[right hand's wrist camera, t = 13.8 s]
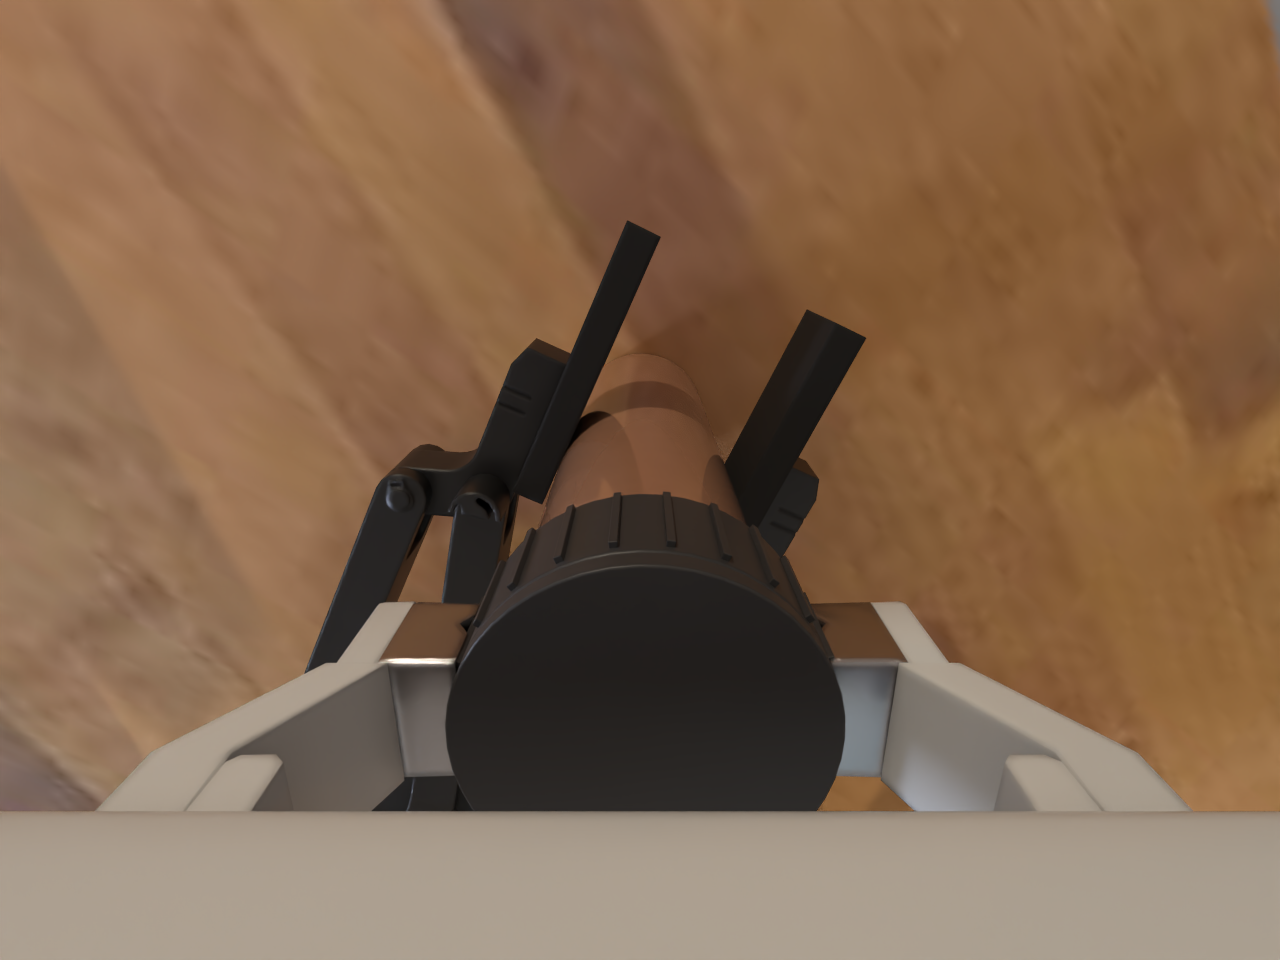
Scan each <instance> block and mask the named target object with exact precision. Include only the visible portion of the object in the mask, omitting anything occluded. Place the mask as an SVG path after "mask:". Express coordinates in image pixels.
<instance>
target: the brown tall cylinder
mask: <svg viewBox="0 0 1280 960" xmlns="http://www.w3.org/2000/svg"><path fill="white" fill-rule="evenodd" d="M663 491H665V492H671V496H674V497H681V498H686V499H689V500H693V501H696V502H700V503H704V504H707V505H710V503H711V502H712V503H715V504H717V505H718V508H719V510H721V511H723V512H725V513H727V514H729V515H731V516H733V517H734V518H736V519H738V520H739V521H741V522H743V523H744V524H746V521H745V518H744V516H743V513H742V510H741V507H740V505H739V502H738V499H737V497H736V494H735V491H734V489H733V486H732V483H731V481H730V478H729V475H728V473H727V470H726V467H725V464H724V462H723V459H722V456H721V454H720V451H719V448H718V446H717V443H716V440H715V438H714V435H713V432H712V429H711V427H710V424H709V421H708V419H707V416H706V413H705V411H704V408H703V405H702V403H701V400H700V397H699V395H698V392H697V389H696V387H695V385H694V383H693V382H692V380H691V379H690V377H689V376H688V375H687V374H686V373H685V372H684V371H683V370H682V369H681V368H680V367H679V366H677V365H676V364H674V363H673V362H671V361H669V360H667V359H665V358H663V357H660V356H656V355H651V354H631V355H626V356H622V357H620V358H617V359H615V360H613V361H611V362H609V363H608V364H606V365H605V366H603V368H602V371H601V373H600V375H599V377H598V380H597V382H596V384H595V386H594V389H593V391H592V393H591V395H590V398H589V400H588V402H587V404H586V407H585V409H584V411H583V413H582V416H581V418H580V420H579V422H578V425H577V427H576V429H575V431H574V434H573V436H572V438H571V441H570V443H569V445H568V447H567V450H566V452H565V454H564V456H563V459H562V461H561V463H560V465H559V468H558V470H557V473H556V476H555V479H554V482H553V485H552V488H551V491H550V494H549V497H548V500H547V503H546V505H545V508H544V511H543V514H542V517H541V520H540V523H539V526H538V528H540V527H541V526H543V525H544V524H546V523H547V522H549V521H550V520H551V519H553V518H555V517H557V516H559V515H561V514H563V513H565V512H566V508H567V507H568V506H570V505H572V504H574V506H575V507H578V506H581V505H584V504H587V503H589V502H592V501H596V500H600V499H605V498H609V497H613V493H616V492H621V495H633V494H658V495H663ZM746 525H747V524H746Z"/></svg>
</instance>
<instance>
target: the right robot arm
mask: <svg viewBox="0 0 1280 960" xmlns="http://www.w3.org/2000/svg"><path fill="white" fill-rule="evenodd" d="M479 604H480V603H432V602H418V603H416V602H384V603H380V604H379V605H378V606H377V607H376V608H375V610H374V611H373V613H372V614H371V615H370V617H369V618H368V620H367V621H366V622H365V624H364V625H363V627H362V628H361V629H360V631H359V632H358V634H357V635H356V636H355V638H354V639H353V641H352V642H351V643H350V645H349V646H348V648H347V649H346V650H345V652H344V653H343V655H342V656H341V657H340V659H339V660H338V662H337V663H325V664H323V665H321V666H319V667H317V668H315V669H313V670H311V671H309V672H307V673H305V674H303V675H301V676H299V677H297V678H295V679H293V680H291V681H289V682H288V683H286V684H284V685H282V686H280V687H278V688H276V689H274V690H272V691H270V692H268V693H266V694H264V695H262V696H260V697H258V698H256V699H254V700H252V701H250V702H248V703H246V704H244V705H242V706H240V707H238V708H236V709H234V710H232V711H230V712H228V713H226V714H225V715H223V716H221V717H219V718H217V719H215V720H213V721H211V722H209V723H207V724H205V725H203V726H201V727H199V728H197V729H195V730H193V731H191V732H189V733H187V734H185V735H183V736H181V737H179V738H177V739H175V740H173V741H171V742H169V743H167V744H165V745H163V746H162V747H160V748H158V749H156V750H154V751H152V752H150V753H149V755H148V756H147V757H146V758H145V759H144V760H143V761H142V762H141V763H140V764H139V765H138V766H137V767H136V768H135V769H134V770H133V771H132V772H131V774H130V775H129V776H128V777H127V778H126V779H125V780H124V781H123V782H122V783H121V784H120V785H119V786H118V787H117V788H116V789H115V790H114V791H113V792H112V794H111V795H110V796H109V797H108V798H107V799H106V800H105V801H104V802H103V803H102V804H101V805H100V806H99V807H98V808H97V809H96V810H95V811H0V960H1280V811H1193V810H1192V809H1191V808H1190V807H1189V806H1188V805H1187V804H1186V803H1185V802H1184V801H1183V800H1182V799H1181V798H1180V797H1179V796H1178V795H1177V793H1176V792H1175V791H1174V790H1173V789H1172V788H1171V787H1170V786H1169V785H1168V784H1167V783H1166V782H1165V781H1164V780H1163V779H1162V778H1161V777H1160V776H1159V775H1158V774H1157V773H1156V772H1155V770H1154V769H1153V768H1152V767H1151V766H1150V765H1149V764H1148V763H1147V762H1146V761H1145V760H1144V759H1143V758H1142V757H1141V756H1140V755H1139V754H1138V753H1137V752H1135V751H1133V750H1131V749H1129V748H1127V747H1125V746H1123V745H1121V744H1119V743H1117V742H1115V741H1113V740H1111V739H1109V738H1107V737H1105V736H1103V735H1101V734H1099V733H1097V732H1095V731H1093V730H1092V729H1090V728H1088V727H1086V726H1084V725H1082V724H1080V723H1078V722H1076V721H1074V720H1072V719H1070V718H1068V717H1066V716H1064V715H1062V714H1060V713H1058V712H1056V711H1054V710H1052V709H1050V708H1048V707H1046V706H1044V705H1042V704H1040V703H1038V702H1036V701H1034V700H1032V699H1030V698H1028V697H1026V696H1024V695H1022V694H1020V693H1018V692H1016V691H1014V690H1012V689H1010V688H1008V687H1006V686H1004V685H1003V684H1001V683H999V682H997V681H995V680H993V679H991V678H989V677H987V676H985V675H983V674H981V673H979V672H977V671H975V670H973V669H971V668H969V667H967V666H965V665H963V664H961V663H949V662H948V661H947V659H946V658H945V656H944V655H943V654H942V652H941V651H940V650H939V648H938V647H937V646H936V644H935V643H934V642H933V640H932V639H931V637H930V636H929V635H928V633H927V632H926V631H925V629H924V628H923V627H922V625H921V624H920V622H919V621H918V620H917V618H916V617H915V616H914V614H913V613H912V612H911V610H910V609H909V607H908V606H907V605H906V604H905V603H902V602H900V601H898V602H874V603H870V602H865V603H824V604H811V606H812V608H813V611H814V613H815V615H816V617H817V619H818V621H819V624H820V626H821V628H822V630H823V632H824V635H825V637H826V639H827V641H828V643H829V646H830V648H831V650H832V652H833V654H834V657H835V659H830V663H831V665H832V667H833V669H834V672H835V674H836V677H837V680H838V683H839V686H840V689H841V692H842V697H843V703H844V709H845V742H844V748H843V754H842V760H841V763H840V766H839V769H838V772H837V775H836V776H859V777H881V781H882V782H884V783H885V784H886V785H887V786H888V787H889V788H890V789H891V790H892V791H893V792H895V793H896V794H897V795H898V796H899V797H900V798H901V799H902V800H903V801H904V802H906V803H907V804H908V805H909V806H910V807H911V808H912V809H913V810H914V811H372V810H373V809H374V808H375V807H376V806H377V805H378V804H379V803H380V802H382V801H383V800H384V799H385V798H386V797H387V796H388V795H389V794H390V793H391V792H392V791H394V790H395V789H396V788H397V787H398V786H399V785H400V784H401V783H402V782H403V781H404V777H426V776H455V775H454V773H453V771H452V767H451V763H450V759H449V755H448V751H447V744H446V732H445V721H446V708H447V702H448V698H449V694H450V690H451V686H452V682H453V680H454V678H455V675H456V673H457V670H458V669H457V664H456V661H457V658H458V656H459V654H460V652H461V649H462V647H463V645H464V643H465V640H466V638H467V636H468V634H467V631H468V629H469V627H470V625H471V622H472V620H473V618H475V617H476V614H477V612H478V610H479V607H480V605H479Z"/></svg>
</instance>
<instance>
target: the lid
mask: <svg viewBox="0 0 1280 960" xmlns="http://www.w3.org/2000/svg"><path fill="white" fill-rule="evenodd" d="M479 605H480V607H479V610H478V612H477V614H476V617H475V618H473V620H472V622H471V625H470V627H469V629H468V631H467V634H468V636H467V638H466V640H465V643H464V645H463V647H462V649H461V652H460V654H459V656H458V658H457V661H456V664H457V669H458V670H457V673H456V675H455V678H454V680H453V682H452V686H451V690H450V694H449V698H448V702H447V708H446V721H445V732H446V744H447V751H448V755H449V759H450V763H451V767H452V771H453V773H454V775H455V778H456V780H457V783H458V785H459V787H460V790H461V791H462V793H463V795H464V796H465V798H466V800H467V801H468V803H469V805H470V806H471V808H472V809H473V810H474V811H817V810H818V808H819V807H820V805H821V804H822V802H823V801H824V800H825V798H826V796H827V794H828V792H829V790H830V788H831V786H832V784H833V782H834V780H835V778H836V775H837V772H838V769H839V766H840V763H841V760H842V754H843V748H844V742H845V709H844V703H843V697H842V692H841V689H840V686H839V683H838V680H837V677H836V674H835V672H834V669H833V667H832V665H831V663H830V659H835V657H834V654H833V652H832V650H831V648H830V646H829V643H828V641H827V639H826V637H825V635H824V632H823V630H822V628H821V626H820V624H819V621H818V619H817V617H816V615H815V613H814V611H813V608H812V606H811V604H810V602H809V600H808V597H807V595H806V593H805V592H804V593H803V591H802V589H801V587H800V584H799V582H798V580H797V578H796V576H795V573H794V571H793V569H792V567H791V565H790V562H789V560H788V559H787V557H786V556H783V557H781V558H780V557H779V555H778V554H777V553H776V551H775V550H774V549H773V548H772V547H771V546H770V545H769V544H768V543H767V542H766V541H765V540H764V539H763V538H762V537H761V534H760V532H759V529H758V528H757V527H756V526H755V525H752V526H751V527H748V526H747V525H746V524H744V523H743V522H741V521H739V520H738V519H736V518H734V517H733V516H731V515H729V514H727V513H725V512H723V511H721V510H719V508H718V505H717V504H715V503H712V502H711V503H710V505H707V504H704V503H700V502H696V501H693V500H689V499H686V498H681V497H674V496H671V492H665V491H663V495H658V494H633V495H621V492H616V493H613V497H609V498H605V499H600V500H596V501H592V502H589V503H587V504H584V505H581V506H578V507H575V506H574V504H572V505H570V506H568V507H567V508H566V512H565V513H563V514H561V515H559V516H557V517H555V518H553V519H551V520H550V521H549V522H547V523H546V524H544V525H543V526H541V527H540V528H538V529H537V530H535V529H534V528H531V529H530V530H529V531H527V534H526V536H525V539H524V541H523V542H522V543H521V544H520V545H519V546H518V547H517V549H516V550H515V551H514V552H513V553H512V555H511V556H510V557H509V558H508V559H507V561H506V562H505V561H504V560H501V561H500V562H499V564H498V565H497V568H496V570H495V572H494V575H493V577H492V579H491V582H490V584H489V586H488V589H487V591H486V593H485V596H484V597H482V599H481V602H480V604H479Z"/></svg>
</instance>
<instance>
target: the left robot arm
mask: <svg viewBox="0 0 1280 960" xmlns="http://www.w3.org/2000/svg"><path fill="white" fill-rule="evenodd" d="M659 240H660V236H658V235H656V234H654V233H652V232H650V231H648V230H646V229H644V228H642V227H640V226H638V225H635V224H633V223H631V222H629V221H627V222H626V225H625V227H624V230H623V232H622V234H621V237H620V239H619V241H618V244H617V246H616V248H615V251H614V253H613V255H612V258H611V260H610V263H609V265H608V267H607V270H606V272H605V274H604V277H603V279H602V281H601V284H600V286H599V289H598V291H597V293H596V296H595V298H594V300H593V303H592V305H591V307H590V310H589V312H588V314H587V317H586V319H585V322H584V324H583V326H582V329H581V331H580V333H579V336H578V338H577V340H576V343H575V345H574V347H573V350H572V352H571V354H570V353H568V352H566V351H564V350H561V349H559V348H557V347H555V346H553V345H550V344H548V343H546V342H544V341H542V340H539V339H537V338H536V339H535V340H534V341H533V342H532V343H531V344H530V345H529V346H528V347H527V348H526V349H525V350H524V351H523V352H522V353H521V354H520V356H519V357H518V358H517V359H516V360H515V361H514V362H513V363H512V364H511V366H510V369H509V371H508V374H507V376H506V379H505V381H504V384H503V387H502V389H501V391H500V394H499V396H498V399H497V402H496V404H495V406H494V409H493V412H492V414H491V417H490V419H489V422H488V424H487V427H486V429H485V432H484V434H483V437H482V439H481V442H480V444H479V447H478V448H477V449H476V450H473V451H470V452H461V453H459V452H446V451H444V450H443V449H441V448H440V447H438V446H435V445H431V444H426V445H420V446H418V447H417V448H415V449H413V450H412V451H411V452H410V453H409V454H408V455H407V456H406V457H405V458H404V459H403V460H402V461H401V462H400V463H399V464H398V465H397V466H396V467H395V468H394V469H392V470H391V471H390V472H389V473H388V474H387V475H386V476H385V477H384V478H383V479H382V480H381V481H380V483H379V484H378V486H377V487H376V490H375V492H374V495H373V497H372V500H371V503H370V505H369V508H368V510H367V513H366V515H365V518H364V521H363V523H362V526H361V528H360V531H359V534H358V536H357V539H356V541H355V544H354V546H353V549H352V552H351V554H350V557H349V559H348V562H347V565H346V567H345V570H344V572H343V575H342V577H341V580H340V583H339V585H338V588H337V590H336V593H335V596H334V598H333V601H332V603H331V606H330V608H329V611H328V614H327V616H326V619H325V621H324V624H323V627H322V629H321V632H320V634H319V637H318V639H317V642H316V645H315V647H314V650H313V652H312V655H311V658H310V660H309V663H308V665H307V668H306V670H305V673H307V672H309V671H311V670H313V669H315V668H317V667H319V666H321V665H323V664H325V663H337V662H338V660H339V659H340V657H341V656H342V655H343V653H344V652H345V650H346V649H347V648H348V646H349V645H350V643H351V642H352V641H353V639H354V638H355V636H356V635H357V634H358V632H359V631H360V629H361V628H362V627H363V625H364V624H365V622H366V621H367V620H368V618H369V617H370V615H371V614H372V613H373V611H374V610H375V608H376V607H377V606H378V605H379V604H380V603H384V602H397V601H398V598H399V596H400V594H401V591H402V589H403V587H404V584H405V582H406V580H407V577H408V575H409V572H410V570H411V568H412V565H413V563H414V561H415V558H416V556H417V554H418V551H419V549H420V547H421V544H422V542H423V539H424V537H425V535H426V532H427V530H428V528H429V525H430V523H431V521H432V518H433V516H434V515H439V516H452V517H453V524H452V531H451V538H450V546H449V553H448V560H447V567H446V574H445V581H444V588H443V595H442V602H441V603H480V602H481V599H482V597H484V596H485V593H486V591H487V589H488V586H489V584H490V582H491V579H492V577H493V575H494V572H495V570H496V568H497V565H498V564H499V562H500V561H501V560H504V561H505V562H506V561H507V559H508V557H509V552H510V546H511V540H512V535H513V529H514V523H515V517H516V512H517V506H518V500H519V495H521V496H523V497H526V498H528V499H530V500H533V501H535V502H538V503H540V504H543V501H544V499H545V497H546V495H547V492H548V490H549V488H550V486H551V483H552V481H553V479H554V477H555V474H556V472H557V470H558V468H559V465H560V463H561V461H562V459H563V456H564V454H565V452H566V450H567V447H568V445H569V443H570V441H571V438H572V436H573V434H574V431H575V429H576V427H577V425H578V422H579V420H580V418H581V416H582V413H583V411H584V409H585V407H586V404H587V402H588V400H589V398H590V395H591V393H592V391H593V389H594V386H595V384H596V382H597V380H598V377H599V375H600V373H601V371H602V368H603V366H604V364H605V362H606V359H607V357H608V355H609V353H610V350H611V348H612V346H613V343H614V341H615V339H616V337H617V334H618V332H619V330H620V328H621V325H622V323H623V321H624V319H625V316H626V314H627V312H628V310H629V307H630V305H631V303H632V301H633V298H634V296H635V294H636V292H637V289H638V287H639V285H640V283H641V280H642V278H643V276H644V274H645V271H646V269H647V267H648V265H649V262H650V260H651V258H652V256H653V253H654V251H655V249H656V246H657V244H658V242H659ZM865 339H866V338H865V337H863V336H861V335H859V334H857V333H855V332H853V331H851V330H849V329H847V328H845V327H843V326H841V325H839V324H837V323H835V322H833V321H831V320H828V319H826V318H824V317H822V316H820V315H818V314H816V313H813V312H811V311H809V310H806V312H805V314H804V316H803V318H802V320H801V322H800V323H799V325H798V327H797V329H796V331H795V333H794V335H793V337H792V338H791V340H790V342H789V344H788V346H787V348H786V350H785V352H784V353H783V355H782V357H781V359H780V361H779V363H778V365H777V367H776V368H775V370H774V372H773V374H772V376H771V378H770V380H769V382H768V383H767V385H766V387H765V389H764V391H763V393H762V395H761V397H760V399H759V400H758V402H757V404H756V406H755V408H754V410H753V412H752V414H751V415H750V417H749V419H748V421H747V423H746V425H745V427H744V429H743V430H742V432H741V434H740V436H739V438H738V440H737V442H736V444H735V445H734V447H733V449H732V451H731V453H730V455H729V457H728V459H727V460H726V462H725V467H726V470H727V473H728V475H729V478H730V481H731V483H732V486H733V489H734V491H735V494H736V497H737V499H738V502H739V505H740V507H741V510H742V513H743V516H744V518H745V521H746V524H747V526H748V527H751V526H752V525H755V526H756V527H757V528H758V529H759V532H760V534H761V537H762V538H763V539H764V540H765V541H766V542H767V543H768V544H769V545H770V546H771V547H772V548H773V549H774V550H775V551H776V553H777V554H778V555H779V557H780V558H781V557H783V555H784V553H785V551H786V550H787V548H788V546H789V545H790V543H791V541H792V540H793V538H794V536H795V533H796V532H797V531H798V530H799V528H800V526H801V524H802V523H803V520H804V518H806V516H807V514H808V513H809V511H810V509H811V508H812V506H813V504H814V503H815V501H816V496H817V490H818V483H819V479H818V477H817V476H816V474H815V473H814V472H813V470H812V469H811V468H810V466H809V465H808V463H807V462H806V461H805V460H802V459H800V458H798V457H799V455H800V453H801V452H802V450H803V448H804V446H805V445H806V443H807V441H808V439H809V438H810V436H811V434H812V432H813V431H814V429H815V427H816V425H817V424H818V422H819V420H820V418H821V417H822V415H823V413H824V411H825V410H826V408H827V406H828V404H829V403H830V401H831V399H832V397H833V395H834V394H835V392H836V390H837V388H838V387H839V385H840V383H841V381H842V380H843V378H844V376H845V374H846V373H847V371H848V369H849V367H850V366H851V364H852V362H853V360H854V359H855V357H856V355H857V353H858V352H859V350H860V348H861V346H862V345H863V343H864V341H865ZM305 673H304V674H305ZM372 811H474V810H473V809H472V808H471V806H470V805H469V803H468V801H467V800H466V798H465V796H464V795H463V793H462V791H461V790H460V787H459V785H458V783H457V780H456V778H455V776H426V777H404V781H403V782H402V783H401V784H400V785H399V786H398V787H397V788H396V789H395V790H394V791H392V792H391V793H390V794H389V795H388V796H387V797H386V798H385V799H384V800H383V801H382V802H380V803H379V804H378V805H377V806H376V807H375V808H374V809H373V810H372Z"/></svg>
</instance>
